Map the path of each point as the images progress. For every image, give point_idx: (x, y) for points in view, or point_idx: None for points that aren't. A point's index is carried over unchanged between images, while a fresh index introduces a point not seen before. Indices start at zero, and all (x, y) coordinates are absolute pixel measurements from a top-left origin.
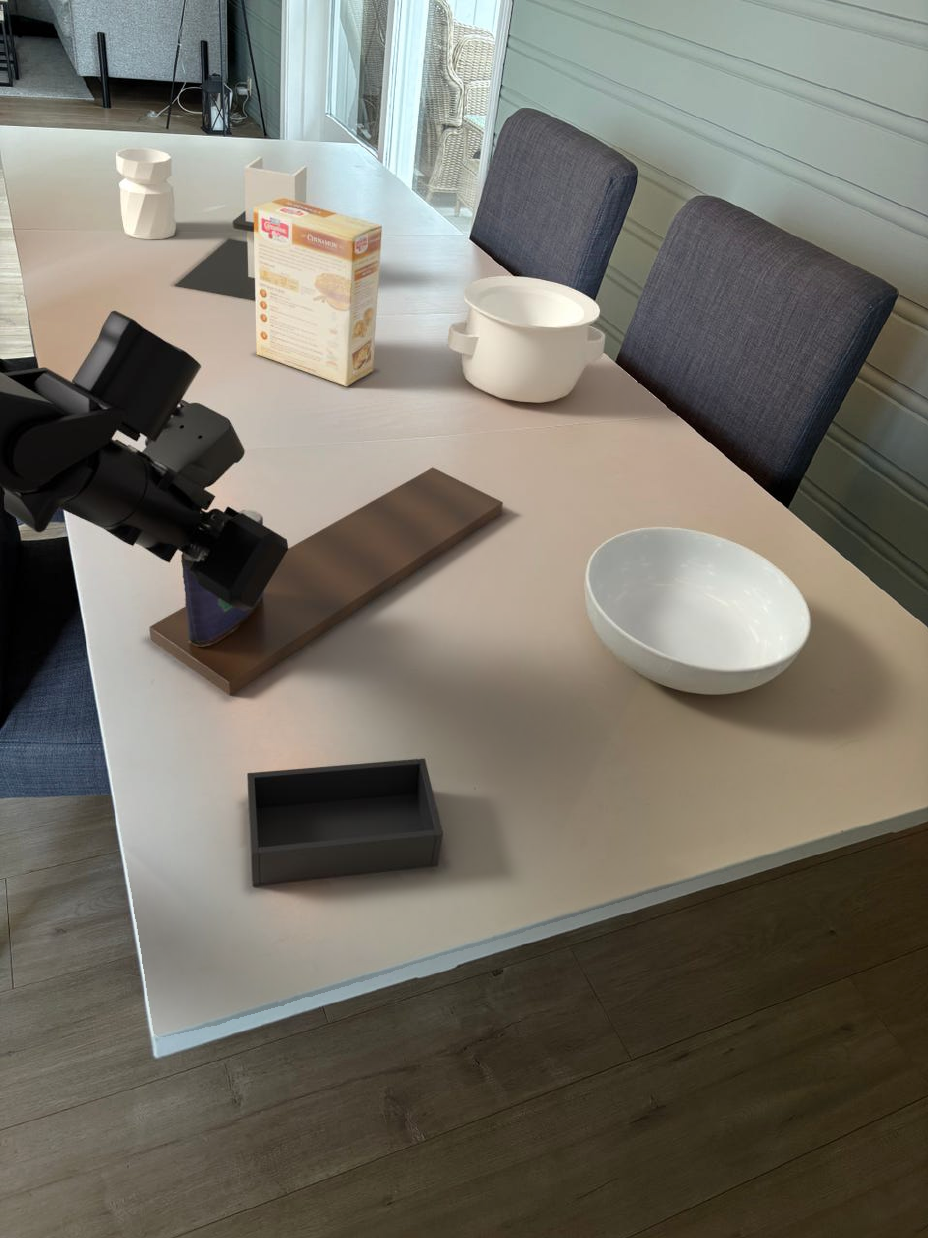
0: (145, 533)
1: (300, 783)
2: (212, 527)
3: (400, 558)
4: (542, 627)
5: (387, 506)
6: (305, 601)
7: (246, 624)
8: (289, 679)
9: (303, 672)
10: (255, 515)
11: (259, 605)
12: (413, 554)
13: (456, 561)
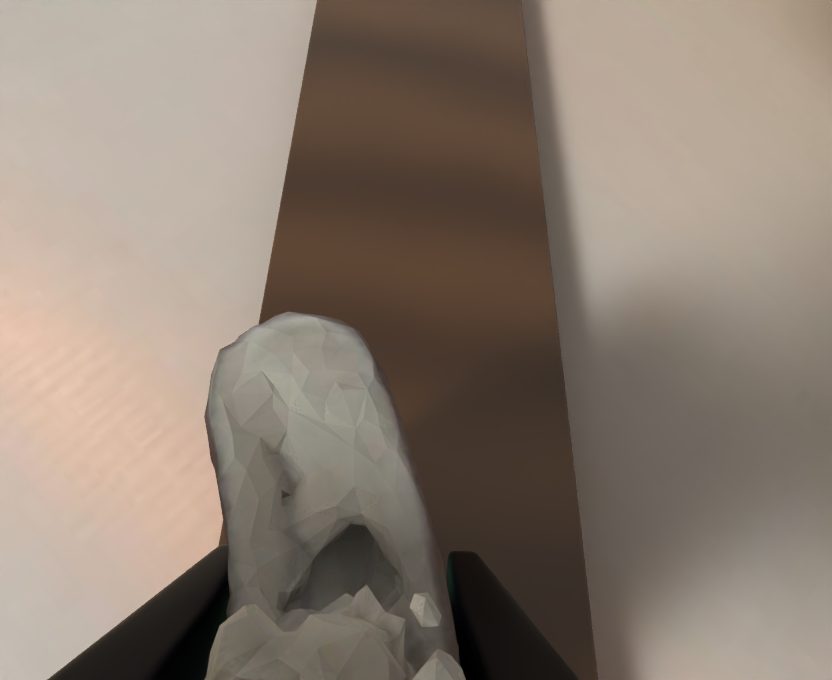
0: None
1: None
2: (166, 672)
3: (508, 140)
4: (820, 137)
5: (350, 34)
6: (470, 401)
7: None
8: (652, 671)
9: (651, 613)
10: (325, 350)
11: None
12: (517, 115)
13: (558, 87)
